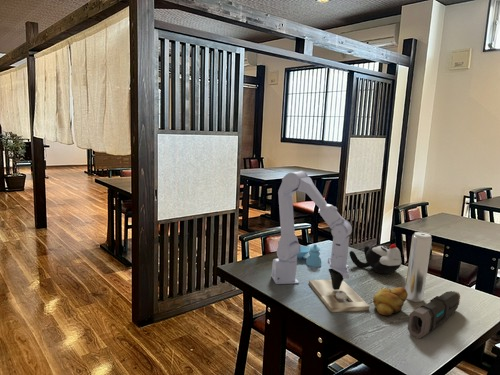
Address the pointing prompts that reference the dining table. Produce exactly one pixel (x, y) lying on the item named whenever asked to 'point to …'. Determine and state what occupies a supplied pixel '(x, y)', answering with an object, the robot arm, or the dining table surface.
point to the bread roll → (390, 300)
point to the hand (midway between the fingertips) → (335, 288)
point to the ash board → (329, 296)
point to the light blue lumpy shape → (314, 255)
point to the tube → (432, 313)
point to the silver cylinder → (418, 266)
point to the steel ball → (341, 296)
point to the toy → (380, 258)
